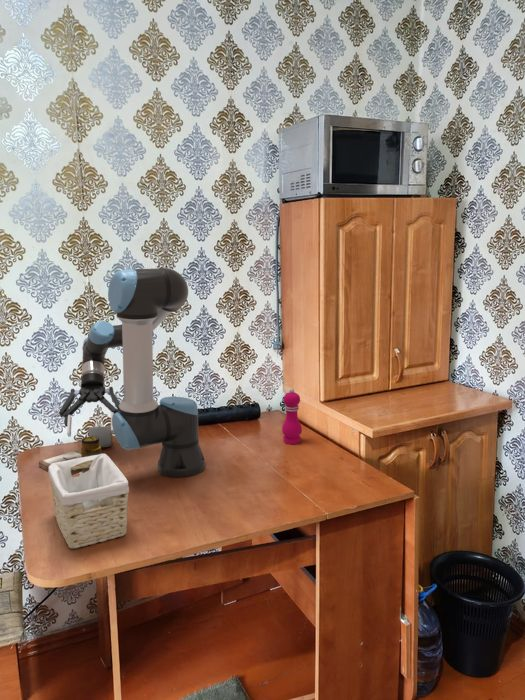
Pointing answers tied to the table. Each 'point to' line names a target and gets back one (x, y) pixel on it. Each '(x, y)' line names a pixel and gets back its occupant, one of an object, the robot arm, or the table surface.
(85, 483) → the storage basket
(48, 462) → the writing board
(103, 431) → the ceramic mug
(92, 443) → the condiment
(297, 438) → the pepper mill
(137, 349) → the robot arm
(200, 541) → the table surface
